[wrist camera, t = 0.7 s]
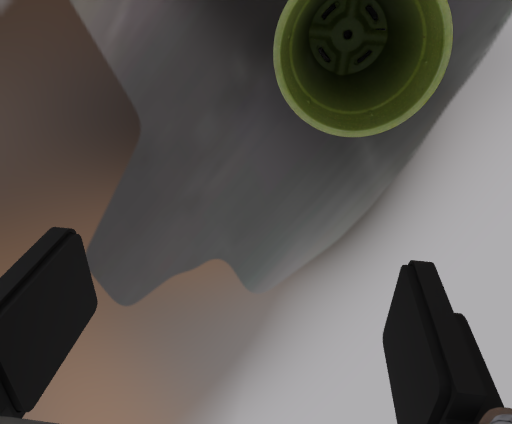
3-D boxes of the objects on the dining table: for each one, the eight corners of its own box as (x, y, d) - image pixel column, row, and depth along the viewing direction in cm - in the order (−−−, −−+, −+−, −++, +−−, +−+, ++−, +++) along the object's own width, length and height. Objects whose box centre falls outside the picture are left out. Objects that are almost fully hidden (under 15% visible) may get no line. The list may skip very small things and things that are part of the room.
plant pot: (376, 115, 40) (394, 160, 30) (266, 71, 39) (249, 103, 30) (444, -12, 34) (494, -6, 24) (315, -67, 33) (314, -83, 23)
